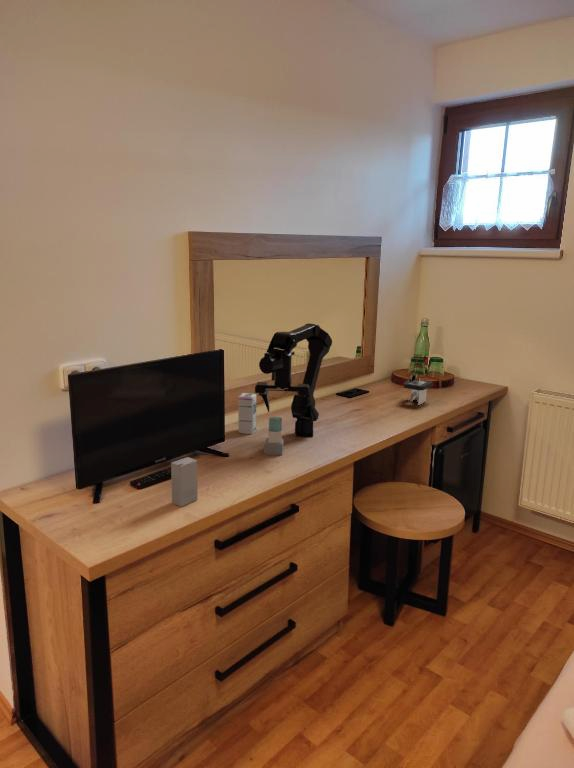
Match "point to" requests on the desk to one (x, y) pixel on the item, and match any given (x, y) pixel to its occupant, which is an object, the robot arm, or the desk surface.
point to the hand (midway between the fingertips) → (281, 412)
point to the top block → (274, 437)
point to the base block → (274, 447)
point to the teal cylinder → (275, 424)
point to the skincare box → (184, 481)
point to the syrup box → (247, 413)
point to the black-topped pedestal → (417, 388)
